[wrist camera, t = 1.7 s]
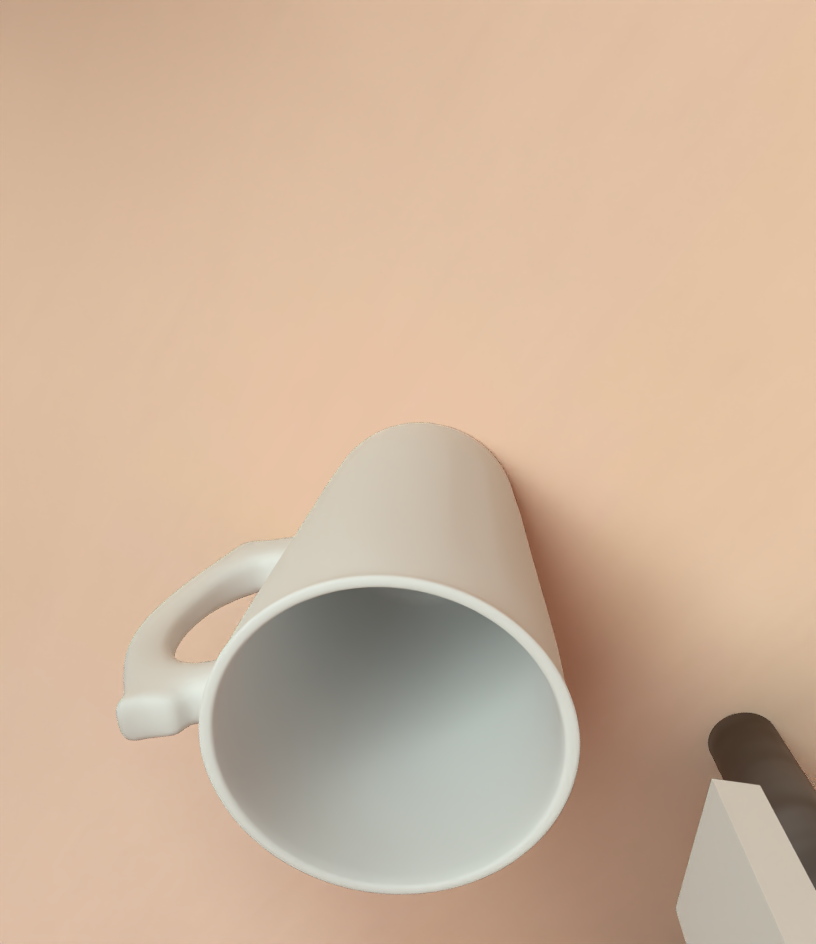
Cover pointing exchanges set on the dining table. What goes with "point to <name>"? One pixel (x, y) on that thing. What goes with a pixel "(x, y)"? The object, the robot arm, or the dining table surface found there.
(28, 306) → the dining table surface
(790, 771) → the small wooden stand
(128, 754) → the dining table surface
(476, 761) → the mug
